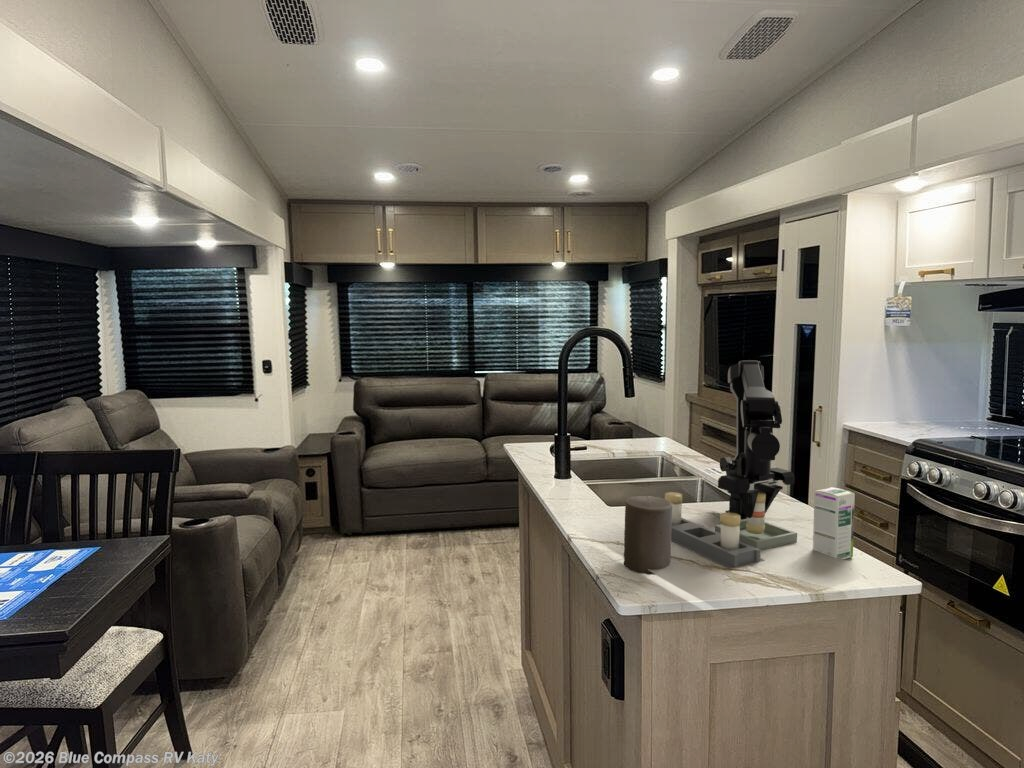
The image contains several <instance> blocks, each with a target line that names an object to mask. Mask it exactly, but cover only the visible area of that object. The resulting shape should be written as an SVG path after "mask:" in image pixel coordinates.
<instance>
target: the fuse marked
mask: <svg viewBox="0 0 1024 768" xmlns="http://www.w3.org/2000/svg"><path fill="white" fill-rule="evenodd" d="M765 502H766V493H764V492H760V491H758V496H757V500H756V504H755V508H754V512H753V515H752V517H751V518H748V517H747V522H746V531H747V532H749V533H753V534H763V533H764V532H765V524H764V521H765V516H766V513H765Z"/></svg>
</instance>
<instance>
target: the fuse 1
mask: <svg viewBox="0 0 1024 768" xmlns="http://www.w3.org/2000/svg"><path fill="white" fill-rule="evenodd" d="M664 499H666V500H668V501H670V502H671V503H672V504H673V506H672V526H674V525H679V524H681V518H682V513H683V512H682V509H683V508H682V507H683V506H682V504H683V494H682V493H680V492H677V491H675V492H673V491H669V492H665V493H664Z"/></svg>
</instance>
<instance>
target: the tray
mask: <svg viewBox="0 0 1024 768" xmlns="http://www.w3.org/2000/svg"><path fill="white" fill-rule="evenodd" d="M746 522H747V519H740V533H739V541H740V542H743V543H745V544H748V545H750V546H753V547H755V548H757V549H760V551H764V550H767V549H772V548H775V547H779V546H784V545H788V544H793V543H797V542H798V532H795V531H793V530H790V529H788V528H785V527H781V526H778V525H776V524H773V523H770V522H767V521H765V520H764V524H765V532H764V533H763V534H753V533H749V532H747V531H746ZM714 531H716V532H718V533H721V523H720V524H719V523H718V524H715V525H714Z"/></svg>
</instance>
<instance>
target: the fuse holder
mask: <svg viewBox="0 0 1024 768" xmlns="http://www.w3.org/2000/svg"><path fill="white" fill-rule="evenodd" d="M720 535H721V533H718V532H716V531H715V530H713V529H710V528H708V527H705V526H704V525H700V524H699V523H696V522H694V521H691V520H688V519H686V518H683V517H681V524H679V525H674V526H672V530H671V543H673V544H675V545H678V547H679V546H680V547H682V548H683V549H686V550H688V551H690V552H692V553H695V554H697V555H699V556H701V557H704V558H705V559H708V560H709V561H712V562H714V563H715V564H718V565H720V566H722V567H724V568H727V569H729V570H731V569H735V568H740V567H743V566H747V565H751V564H756V563H760V562H764V561H765V559H763V558H761V550H760V549H757V548H755V547H753V546H750V545H748V544H745V543H743V542H740V541H739V549H736V550H732V551H729V550H726V549H724V548H722V547H720Z"/></svg>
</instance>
